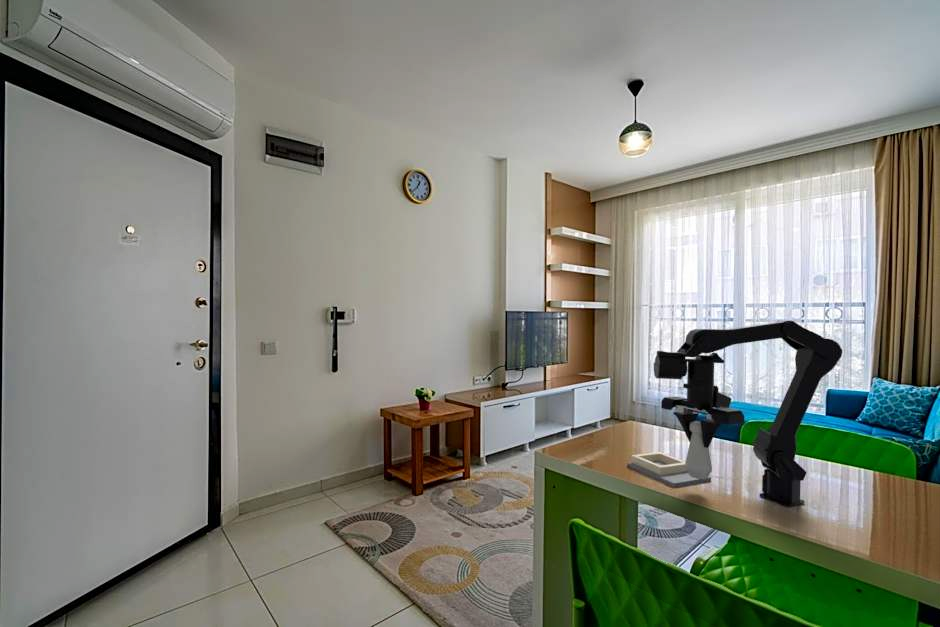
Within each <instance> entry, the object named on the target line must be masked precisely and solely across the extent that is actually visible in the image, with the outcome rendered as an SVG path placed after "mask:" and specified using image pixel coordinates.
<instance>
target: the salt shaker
mask: <svg viewBox="0 0 940 627" xmlns="http://www.w3.org/2000/svg"><path fill="white" fill-rule="evenodd" d="M690 431H692V435H691V439H690V442H689V445H688V448H687V449H688V450H687V452H686V453H687V454H686V457H685V458H686V459H685V462H686V463H685V466H686V469H687V471H688V473H689V475H690V476H691V477H694V478H697V479H707V478H708V476H709V477H710V474H711V473H712V471H713V465H712V460H711V454H710V446H709V447H708V448H705V447H704V444H703V438H702V430H701V422H700V421H697V420H695V421H694V422H691V423H690Z"/></svg>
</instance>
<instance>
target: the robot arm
mask: <svg viewBox="0 0 940 627" xmlns="http://www.w3.org/2000/svg"><path fill="white" fill-rule="evenodd" d="M776 339H781V340H782V341H784V342H785V343H786V344H787V345H788V346H789V347H791V348H792V349H794V350H795V351H796V353H795V357H794V359H795V360H794V361H795V373H794V375H793V378H792V380H791V381H790V384H789V386H788V389H787V391H786V393H785V395H784V397H783V400H782V402H781V405H780V407H779V409H778V411H777V414H776V416H775V418H774V420H773V422H772V424H771V426H769V427H768V428H767V429H765V430H764V429H762V428H759V429H757V433H756V437H755V439H754V440H752V442H751V444H753V447H752V448H753V449H752V450H753V453H754V455H755V457H756V458H757V459H758V460H759V461H760V462H761V466H762V467H764V468H765V469H764V470H763V471H764V472H763V475H762V481H761V484H762V485H761V491H762V492H760V493H759V497H760V498H761V497H762V498H764V499H766V500H769V501H770V502H771V501H772V502H775V503H776V504H779V505H781V506H785V507H787V508H789V507H792V506H797V505H802V504H805V503H806V502H805V500H803V499H801V482H802V481H804V479H805V477H806V475H807V471H806V470H805V469H804V468H803V467H802V466H801V465H800V464H799V463H797V461H796V460H795V459H796V453H797V449H798V448H797V441H796V440H797V438H796V435H797V432H798V430H799V429H800V426H801V425H802V422H803V420H804V416H805V415H806V413H807V410H808V408H809V406H810V404H811V402H812V399H813V397H814V396H815V393H816V390H817V389H818V386H819V383H820V381H821V379H823V377H825V376H826V375H827V374H828V373H829V372H831V371H832V370H833V369H834V368H835V366H836V365H837V364H838V362H839V361H840V359H841V358H842V357H843V356H842V355H843V349H842V348H841V346H840V344H839V343H838V342H837V341H835V340H833V339H832V338H825V337H823V336H822V335H820V334H818V333H816V332H814V331H812V330H809V329H808V328H804V327H803V326H802V325H800V324H798V323H797V322H795V321H794V320H778V321H775V322H768V323H763V324H762V323H759V324H756V325H755V324H753V325H748V326H741V327H734V328H727V329H724V328H723V329H719V328H715V329H714V328H711V329H710V328H695V329H691V330H690V331H688V333H687V334H686V337H685V342H684V343H683V344H682V345H681V346H680V348H679V349H678V350H677V351H676V352H675V351H673V352H672V351H664V350H657V351H656V355H655V359H654V362H653V375H654V377H655V379H662V380H663V379H664V380H665V379H666V380H678V381H679V380H682V378H683V377H686V376H687V379H686V381H687V382H686V383H683V386H682V387H683V388H684V389H686V398H685V397H680V396H666V397H665V396H664V397H663V398H662V400H661V403H660V404H661V407H660V408H661V409H663V410H664V409H665V410H667V411H672V410H673V409H674V408H675V411H673V414H672V415H674V416H675V417H676V418H677V421H678V422H679V424H680V425H681V427H682V429H683V432H684V433H685V436H686V438H687V440H688V443H690V439H691V435H692V431H690V423H691V422H694V421H697V418H698V417H699V414H701V415H705V416H706V418H703V419H699V420H700V421H699V422H701V430H702V438H703V444H704V447H705V448H708V447H709V448H710V445H711V443H712V441H713V439H714V436H715V434H716V432H717V431H718V429H719V427H721V426H722V425H728V426H730V425H738V424H745V415H744V414H745V413H743V411H742V410H740V409H735V408H731V407H730V406H731V403H732V397H730V396H728V395H725V394H723V393H721V392H719V386H718V385H716V384H715V364H725V360H724V359H723V358H721V356H720V355H719V353H717V351H721V350H724V349H725V348H726V349H727V348H728V347H731V346H734V345H740V344H741V345H742V344H747V343H754V342H761V341H769V340H776ZM710 353H711V354H710ZM704 354H706V355H704ZM707 354H708V355H707ZM709 354H710V355H709Z"/></svg>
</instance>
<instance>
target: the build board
mask: <svg viewBox="0 0 940 627" xmlns="http://www.w3.org/2000/svg"><path fill="white" fill-rule="evenodd" d="M685 463H686V460H685V461H684V460H681V459H679V458H676V457H673V456H671V455H668V454H666V453H663V452H660V451H658V452H657V451H656V452H649V453H641V454H632V455H631V461H630V462H627V464H626V466H627V467H628V466H629V467H628V468H630V467H631V468H630V469H632V468H633V470H634V469H635V470H634V471H636V472H639V473H641V474H643V475H645V476H648V477H650V478H652V479H654V480H656V481H658V482H660V483H663V484H666V485H668V486H670V487H672V488H679V487H683V486H692V485H696V484H702V483H708V482H711V481H712V477H711V476H710V475H709V476H708V478H707V479H697V478H694V477H691V476H690V475H689V473H688V471H687V469H686V466H685Z"/></svg>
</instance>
